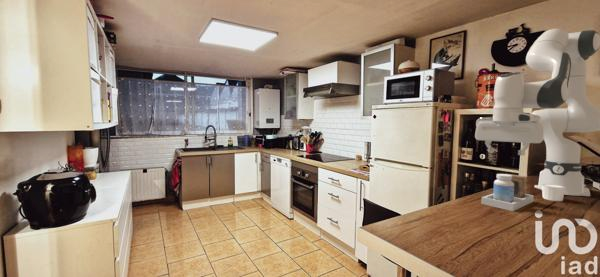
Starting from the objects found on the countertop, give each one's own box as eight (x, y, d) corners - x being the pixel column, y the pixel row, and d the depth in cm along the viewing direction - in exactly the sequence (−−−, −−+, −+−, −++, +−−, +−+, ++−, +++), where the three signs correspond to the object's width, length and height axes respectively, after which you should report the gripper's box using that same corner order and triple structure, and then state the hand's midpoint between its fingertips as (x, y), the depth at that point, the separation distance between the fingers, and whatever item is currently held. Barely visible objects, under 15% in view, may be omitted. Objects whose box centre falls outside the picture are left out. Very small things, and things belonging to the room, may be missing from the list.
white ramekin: (569, 205, 102) (570, 187, 101) (551, 205, 102) (552, 187, 102) (552, 200, 109) (553, 183, 108) (536, 200, 109) (537, 183, 108)
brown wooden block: (506, 197, 107) (507, 173, 107) (524, 201, 102) (525, 176, 102) (500, 199, 104) (501, 175, 103) (518, 203, 99) (520, 178, 98)
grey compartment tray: (502, 198, 110) (503, 189, 110) (533, 205, 102) (533, 195, 102) (481, 207, 100) (481, 197, 99) (512, 215, 91) (513, 204, 91)
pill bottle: (515, 207, 94) (516, 177, 94) (494, 205, 97) (496, 175, 96) (511, 203, 100) (512, 174, 99) (491, 200, 102) (492, 172, 102)
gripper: (472, 117, 103) (471, 151, 104) (540, 116, 86) (537, 157, 87) (480, 117, 107) (478, 150, 108) (546, 116, 89) (544, 156, 90)
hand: (505, 153), depth 97 cm, fingers open, 8 cm apart
